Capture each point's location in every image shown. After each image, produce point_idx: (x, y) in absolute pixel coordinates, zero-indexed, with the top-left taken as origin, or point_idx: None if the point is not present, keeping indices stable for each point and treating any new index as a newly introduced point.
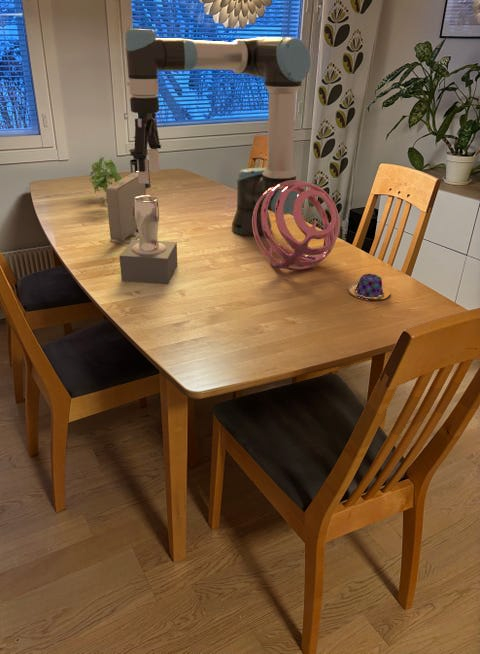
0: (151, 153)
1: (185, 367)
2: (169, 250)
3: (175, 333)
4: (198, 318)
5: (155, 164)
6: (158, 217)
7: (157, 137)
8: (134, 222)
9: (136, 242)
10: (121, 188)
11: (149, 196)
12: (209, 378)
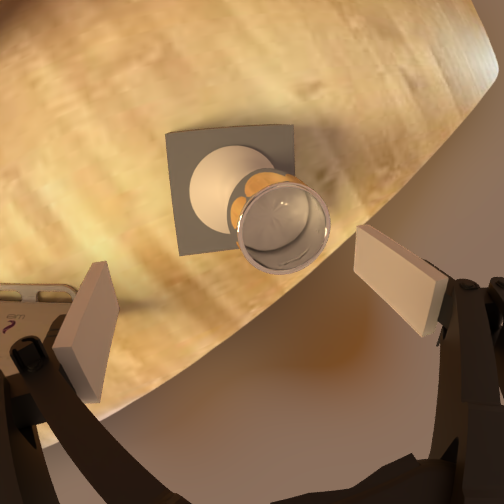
0: (96, 365)
1: (478, 76)
2: (235, 133)
3: (431, 87)
4: (391, 54)
5: (101, 300)
6: (271, 168)
7: (7, 422)
8: (19, 311)
9: (197, 238)
10: None
11: (242, 231)
12: (485, 53)
